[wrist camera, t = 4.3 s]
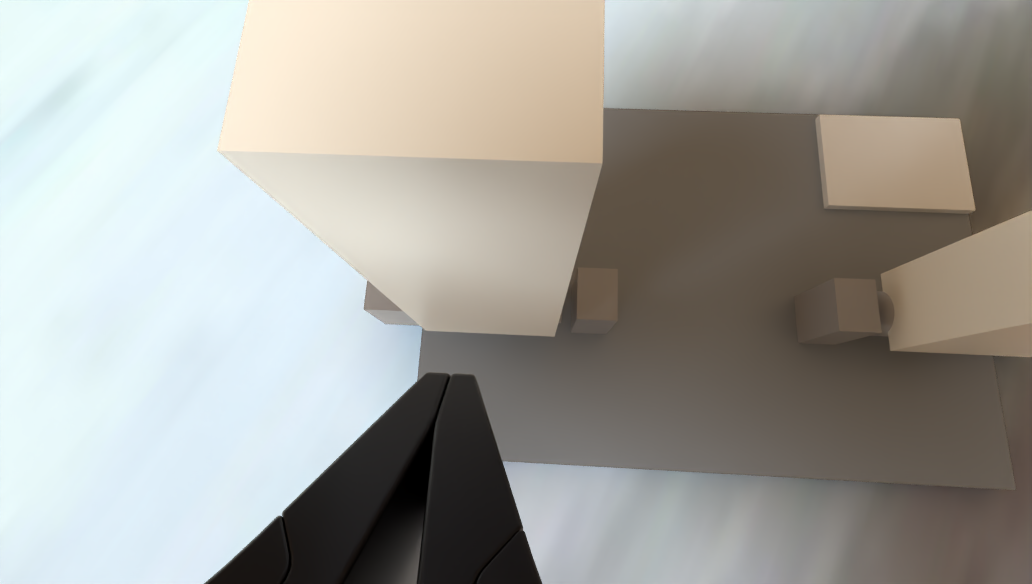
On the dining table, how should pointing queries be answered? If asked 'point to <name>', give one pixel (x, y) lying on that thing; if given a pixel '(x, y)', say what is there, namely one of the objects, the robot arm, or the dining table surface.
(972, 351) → the lever
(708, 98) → the dining table surface
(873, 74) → the dining table surface
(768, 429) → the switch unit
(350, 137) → the lever
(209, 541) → the dining table surface
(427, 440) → the robot arm
